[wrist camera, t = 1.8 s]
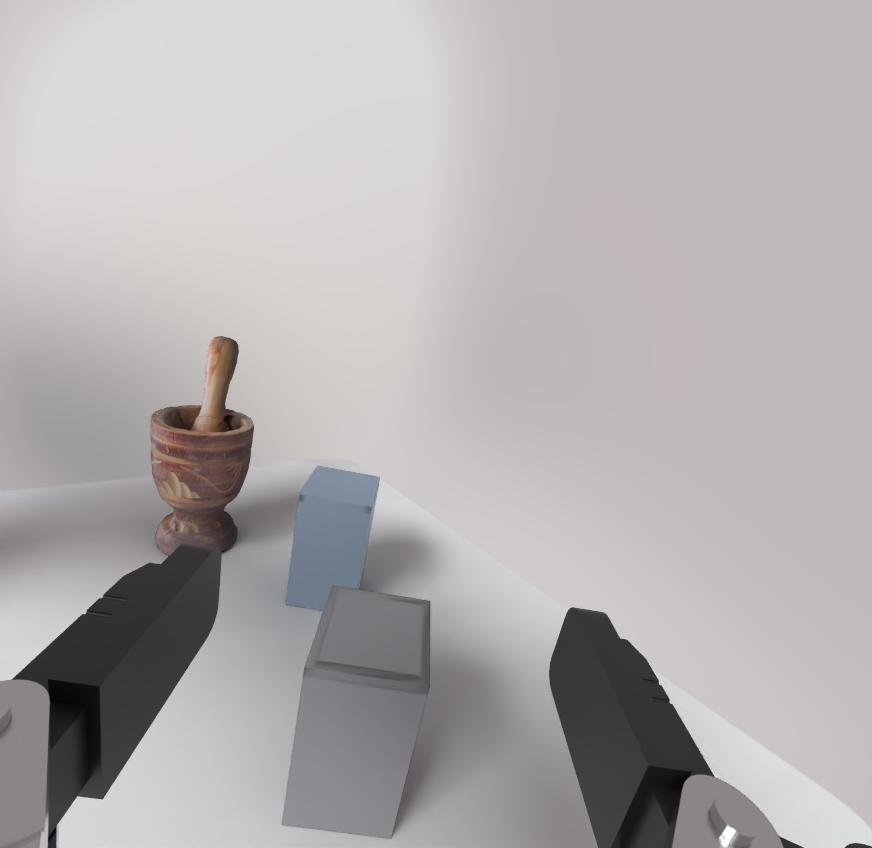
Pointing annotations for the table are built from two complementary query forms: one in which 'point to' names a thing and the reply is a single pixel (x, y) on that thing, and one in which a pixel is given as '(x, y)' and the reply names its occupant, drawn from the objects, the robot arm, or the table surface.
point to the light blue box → (330, 535)
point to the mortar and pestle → (201, 459)
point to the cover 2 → (359, 713)
